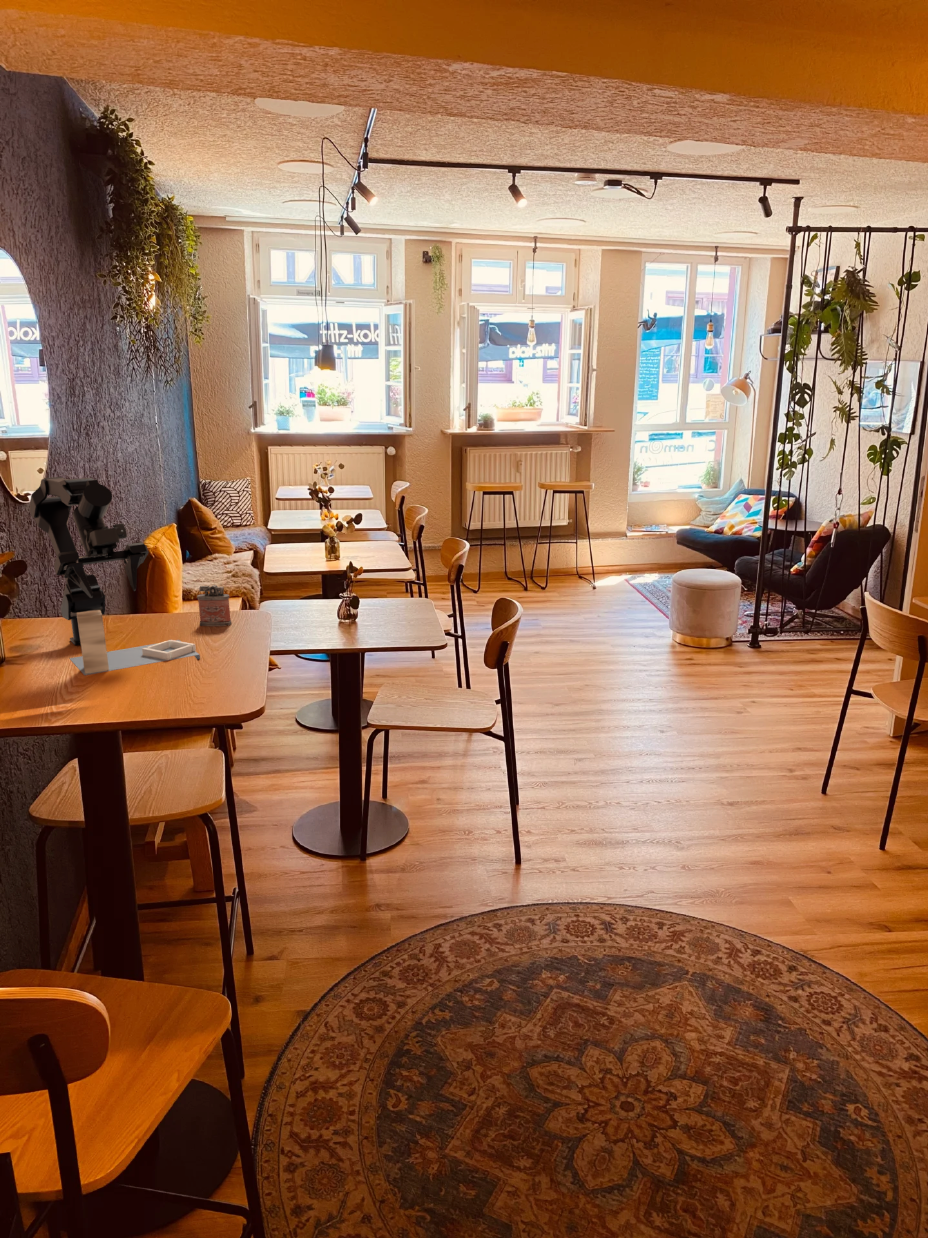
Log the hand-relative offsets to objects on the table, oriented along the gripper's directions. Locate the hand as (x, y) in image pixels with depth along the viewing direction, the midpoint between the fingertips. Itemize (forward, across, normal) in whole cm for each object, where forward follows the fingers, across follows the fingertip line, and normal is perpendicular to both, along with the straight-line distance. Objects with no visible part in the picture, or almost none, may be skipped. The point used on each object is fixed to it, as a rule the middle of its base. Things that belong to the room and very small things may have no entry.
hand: (113, 593), depth 194 cm
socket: (+15, +9, +6) cm, 18 cm away
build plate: (+13, +2, +8) cm, 16 cm away
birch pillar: (+14, -7, +4) cm, 17 cm away
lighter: (+4, +29, +22) cm, 37 cm away
